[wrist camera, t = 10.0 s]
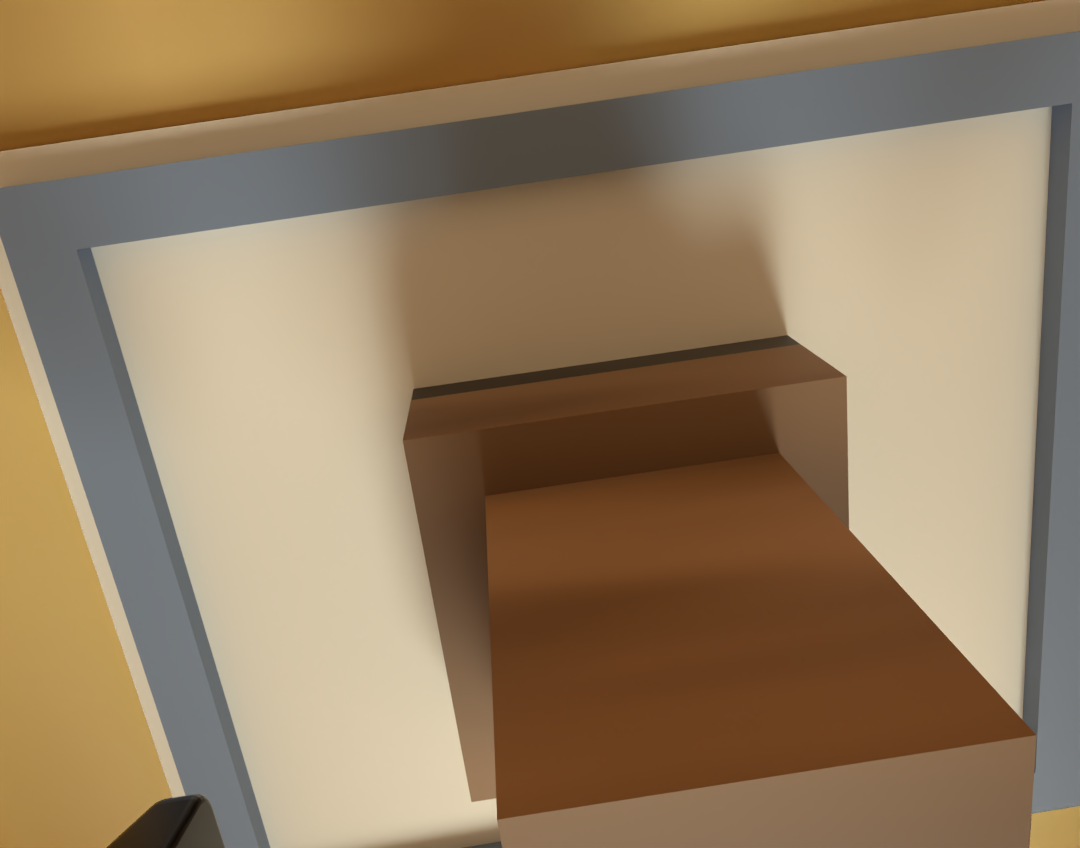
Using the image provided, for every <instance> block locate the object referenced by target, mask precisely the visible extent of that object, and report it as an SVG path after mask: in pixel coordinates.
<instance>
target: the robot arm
mask: <svg viewBox="0 0 1080 848" xmlns="http://www.w3.org/2000/svg"><path fill="white" fill-rule="evenodd" d="M107 848H225V845H224V842H223V839H222V836H221V833H220V830H219V827H218V823H217V820H216V817H215V814H214V811H213V808H212V806H211V803H210V802H209V800H208V799H207V797H205V796H203V795H201V794H193V795H187V796H181V797H175V798H168V799H164V800H161V801H159V802H157V803H155V804H154V805H153V806H152V807H150V808H149V809H148V810H147V811H146V812H145V813H144V814H143V815H142V816H141V817H140V818H138V819H137V820H136V821H135V822H134V823H133V824H132V825H131V826H130V827H129V828H128V829H126V830H125V831H124V832H123V833H122V834H121V835H120V836H119V837H118V838H117V839H115V840H114V841H113V842H112V843H111V844H110V845H109V846H108V847H107Z"/></svg>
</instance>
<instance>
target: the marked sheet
mask: <svg viewBox="0 0 1080 848" xmlns="http://www.w3.org/2000/svg"><path fill="white" fill-rule="evenodd" d="M0 288H1V291H2V294H3V297H4V300H5V303H6V306H7V309H8V312H9V315H10V318H11V321H12V324H13V327H14V330H15V333H16V336H17V339H18V341H19V344H20V347H21V350H22V353H23V356H24V359H25V362H26V365H27V368H28V371H29V374H30V377H31V380H32V383H33V386H34V389H35V392H36V395H37V398H38V401H39V404H40V407H41V410H42V413H43V416H44V419H45V421H46V424H47V427H48V430H49V433H50V436H51V439H52V442H53V445H54V448H55V451H56V454H57V457H58V460H59V463H60V466H61V469H62V472H63V475H64V478H65V481H66V484H67V487H68V490H69V493H70V496H71V498H72V501H73V504H74V507H75V510H76V513H77V516H78V519H79V522H80V525H81V528H82V531H83V534H84V537H85V540H86V543H87V546H88V549H89V552H90V555H91V558H92V561H93V564H94V567H95V570H96V573H97V576H98V578H99V581H100V584H101V587H102V590H103V593H104V596H105V599H106V602H107V605H108V608H109V611H110V614H111V617H112V620H113V623H114V626H115V629H116V632H117V635H118V638H119V641H120V644H121V647H122V650H123V653H124V656H125V658H126V661H127V664H128V667H129V670H130V673H131V676H132V679H133V682H134V685H135V688H136V691H137V694H138V697H139V700H140V703H141V706H142V709H143V712H144V715H145V718H146V721H147V724H148V727H149V730H150V733H151V735H152V738H153V741H154V744H155V747H156V750H157V753H158V756H159V759H160V762H161V765H162V768H163V771H164V774H165V777H166V780H167V783H168V786H169V789H170V792H171V795H172V798H175V797H181V796H187V795H193V794H201V795H203V796H205V797H207V799H208V800H209V802H210V803H211V806H212V808H213V811H214V814H215V817H216V820H217V823H218V827H219V830H220V833H221V836H222V839H223V842H224V845H225V848H502V844H501V839H500V833H499V828H498V822H497V804H496V798H495V799H488V800H482V801H476V802H471V797H470V792H469V787H468V781H467V776H466V771H465V766H464V760H463V755H462V750H461V745H460V739H459V734H458V729H457V724H456V718H455V713H454V708H453V703H452V697H451V692H450V687H449V682H448V676H447V671H446V666H445V661H444V655H443V650H442V645H441V640H440V634H439V629H438V624H437V619H436V613H435V608H434V603H433V598H432V592H431V587H430V582H429V577H428V571H427V566H426V561H425V556H424V550H423V545H422V540H421V535H420V529H419V524H418V519H417V514H416V508H415V503H414V498H413V493H412V487H411V482H410V477H409V472H408V466H407V461H406V456H405V451H404V445H403V436H404V432H405V427H406V422H407V417H408V413H409V408H410V403H411V398H412V393H413V389H416V388H423V387H430V386H437V385H444V384H451V383H458V382H465V381H472V380H479V379H486V378H493V377H500V376H507V375H514V374H521V373H528V372H535V371H542V370H549V369H556V368H562V367H569V366H576V365H583V364H590V363H597V362H604V361H611V360H618V359H625V358H632V357H639V356H646V355H653V354H660V353H667V352H674V351H681V350H688V349H695V348H702V347H709V346H716V345H723V344H730V343H737V342H743V341H750V340H757V339H764V338H771V337H778V336H785V335H788V336H790V337H791V338H792V339H794V340H795V341H797V342H798V343H800V344H801V345H802V346H804V347H805V348H807V349H808V350H810V351H811V352H813V353H814V354H815V355H817V356H818V357H820V358H821V359H823V360H824V361H825V362H827V363H828V364H830V365H831V366H833V367H834V368H835V369H837V370H838V371H840V372H841V373H843V374H844V375H846V376H847V429H848V491H849V530H850V531H851V532H852V533H853V534H854V535H855V536H856V538H857V539H858V540H859V541H860V542H861V543H862V544H863V545H864V546H865V547H866V549H867V550H868V551H869V552H870V553H871V554H872V555H873V556H874V557H875V558H876V560H877V561H878V562H879V563H880V564H881V565H882V566H883V567H884V568H885V569H886V571H887V572H888V573H889V574H890V575H891V576H892V577H893V578H894V579H895V580H896V581H897V583H898V584H899V585H900V586H901V587H902V588H903V589H904V590H905V591H906V592H907V594H908V595H909V596H910V597H911V598H912V599H913V600H914V601H915V602H916V603H917V605H918V606H919V607H920V608H921V609H922V610H923V611H924V612H925V613H926V614H927V616H928V617H929V618H930V619H931V620H932V621H933V622H934V623H935V624H936V625H937V626H938V628H939V629H940V630H941V631H942V632H943V633H944V634H945V635H946V636H947V637H948V639H949V640H950V641H951V642H952V643H953V644H954V645H955V646H956V647H957V648H958V650H959V651H960V652H961V653H962V654H963V655H964V656H965V657H966V658H967V659H968V661H969V662H970V663H971V664H972V665H973V666H974V667H975V668H976V669H977V670H978V671H979V673H980V674H981V675H982V676H983V677H984V678H985V679H986V680H987V681H988V682H989V684H990V685H991V686H992V687H993V688H994V689H995V690H996V691H997V692H998V693H999V695H1000V696H1001V697H1002V698H1003V699H1004V700H1005V701H1006V702H1007V703H1008V704H1009V706H1010V707H1011V708H1012V709H1013V710H1014V711H1015V712H1016V713H1017V714H1018V715H1019V716H1020V718H1021V719H1022V720H1023V721H1024V722H1025V723H1026V724H1027V725H1028V726H1029V727H1030V729H1031V730H1032V731H1033V732H1034V733H1035V734H1036V735H1037V737H1036V753H1035V768H1034V783H1033V798H1032V814H1033V813H1039V812H1045V811H1051V810H1057V809H1063V808H1069V807H1075V806H1080V0H1045V1H1038V2H1031V3H1024V4H1017V5H1010V6H1003V7H996V8H989V9H983V10H976V11H969V12H962V13H955V14H948V15H941V16H934V17H927V18H920V19H913V20H906V21H899V22H893V23H886V24H879V25H872V26H865V27H858V28H851V29H844V30H837V31H830V32H823V33H816V34H809V35H802V36H796V37H789V38H782V39H775V40H768V41H761V42H754V43H747V44H740V45H733V46H726V47H719V48H712V49H705V50H699V51H692V52H685V53H678V54H671V55H664V56H657V57H650V58H643V59H636V60H629V61H622V62H615V63H609V64H602V65H595V66H588V67H581V68H574V69H567V70H560V71H553V72H546V73H539V74H532V75H525V76H518V77H512V78H505V79H498V80H491V81H484V82H477V83H470V84H463V85H456V86H449V87H442V88H435V89H428V90H421V91H415V92H408V93H401V94H394V95H387V96H380V97H373V98H366V99H359V100H352V101H345V102H338V103H331V104H325V105H318V106H311V107H304V108H297V109H290V110H283V111H276V112H269V113H262V114H255V115H248V116H241V117H234V118H228V119H221V120H214V121H207V122H200V123H193V124H186V125H179V126H172V127H165V128H158V129H151V130H144V131H138V132H131V133H124V134H117V135H110V136H103V137H96V138H89V139H82V140H75V141H68V142H61V143H54V144H47V145H41V146H34V147H27V148H20V149H13V150H6V151H0Z"/></svg>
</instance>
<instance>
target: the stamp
mask: <svg viewBox="0 0 1080 848" xmlns="http://www.w3.org/2000/svg"><path fill="white" fill-rule="evenodd" d="M403 445H404V451H405V456H406V461H407V466H408V472H409V477H410V482H411V487H412V493H413V498H414V503H415V508H416V514H417V519H418V524H419V529H420V535H421V540H422V545H423V550H424V556H425V561H426V566H427V571H428V577H429V582H430V587H431V592H432V598H433V603H434V608H435V613H436V619H437V624H438V629H439V634H440V640H441V645H442V650H443V655H444V661H445V666H446V671H447V676H448V682H449V687H450V692H451V697H452V703H453V708H454V713H455V718H456V724H457V729H458V734H459V739H460V745H461V750H462V755H463V760H464V766H465V771H466V776H467V781H468V787H469V792H470V797H471V802H476V801H482V800H488V799H495V798H496V804H497V822H498V828H499V833H500V839H501V844H502V848H1029V844H1030V829H1031V814H1032V798H1033V783H1034V768H1035V753H1036V737H1037V735H1036V734H1035V733H1034V732H1033V731H1032V730H1031V729H1030V727H1029V726H1028V725H1027V724H1026V723H1025V722H1024V721H1023V720H1022V719H1021V718H1020V716H1019V715H1018V714H1017V713H1016V712H1015V711H1014V710H1013V709H1012V708H1011V707H1010V706H1009V704H1008V703H1007V702H1006V701H1005V700H1004V699H1003V698H1002V697H1001V696H1000V695H999V693H998V692H997V691H996V690H995V689H994V688H993V687H992V686H991V685H990V684H989V682H988V681H987V680H986V679H985V678H984V677H983V676H982V675H981V674H980V673H979V671H978V670H977V669H976V668H975V667H974V666H973V665H972V664H971V663H970V662H969V661H968V659H967V658H966V657H965V656H964V655H963V654H962V653H961V652H960V651H959V650H958V648H957V647H956V646H955V645H954V644H953V643H952V642H951V641H950V640H949V639H948V637H947V636H946V635H945V634H944V633H943V632H942V631H941V630H940V629H939V628H938V626H937V625H936V624H935V623H934V622H933V621H932V620H931V619H930V618H929V617H928V616H927V614H926V613H925V612H924V611H923V610H922V609H921V608H920V607H919V606H918V605H917V603H916V602H915V601H914V600H913V599H912V598H911V597H910V596H909V595H908V594H907V592H906V591H905V590H904V589H903V588H902V587H901V586H900V585H899V584H898V583H897V581H896V580H895V579H894V578H893V577H892V576H891V575H890V574H889V573H888V572H887V571H886V569H885V568H884V567H883V566H882V565H881V564H880V563H879V562H878V561H877V560H876V558H875V557H874V556H873V555H872V554H871V553H870V552H869V551H868V550H867V549H866V547H865V546H864V545H863V544H862V543H861V542H860V541H859V540H858V539H857V538H856V536H855V535H854V534H853V533H852V532H851V531H850V530H849V491H848V429H847V376H846V375H844V374H843V373H841V372H840V371H838V370H837V369H835V368H834V367H833V366H831V365H830V364H828V363H827V362H825V361H824V360H823V359H821V358H820V357H818V356H817V355H815V354H814V353H813V352H811V351H810V350H808V349H807V348H805V347H804V346H802V345H801V344H800V343H798V342H797V341H795V340H794V339H792V338H791V337H790V336H788V335H785V336H778V337H771V338H764V339H757V340H750V341H743V342H737V343H730V344H723V345H716V346H709V347H702V348H695V349H688V350H681V351H674V352H667V353H660V354H653V355H646V356H639V357H632V358H625V359H618V360H611V361H604V362H597V363H590V364H583V365H576V366H569V367H562V368H556V369H549V370H542V371H535V372H528V373H521V374H514V375H507V376H500V377H493V378H486V379H479V380H472V381H465V382H458V383H451V384H444V385H437V386H430V387H423V388H416V389H413V393H412V398H411V403H410V408H409V413H408V417H407V422H406V427H405V432H404V436H403Z"/></svg>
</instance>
